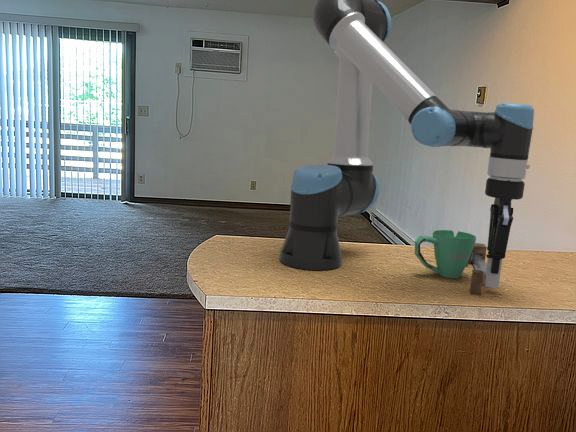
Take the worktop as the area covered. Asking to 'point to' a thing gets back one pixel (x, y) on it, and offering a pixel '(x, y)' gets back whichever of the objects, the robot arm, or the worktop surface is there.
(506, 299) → the worktop surface
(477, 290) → the brown blocks
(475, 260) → the tie bar
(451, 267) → the mug
